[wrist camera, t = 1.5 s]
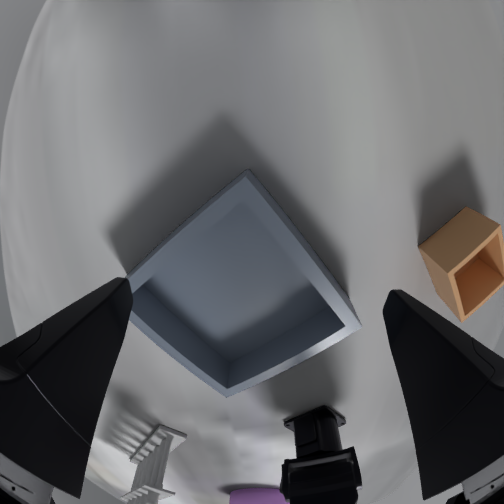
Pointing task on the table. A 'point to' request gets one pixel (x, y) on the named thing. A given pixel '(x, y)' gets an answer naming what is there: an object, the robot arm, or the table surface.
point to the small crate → (465, 261)
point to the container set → (257, 496)
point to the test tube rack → (153, 467)
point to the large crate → (239, 292)
